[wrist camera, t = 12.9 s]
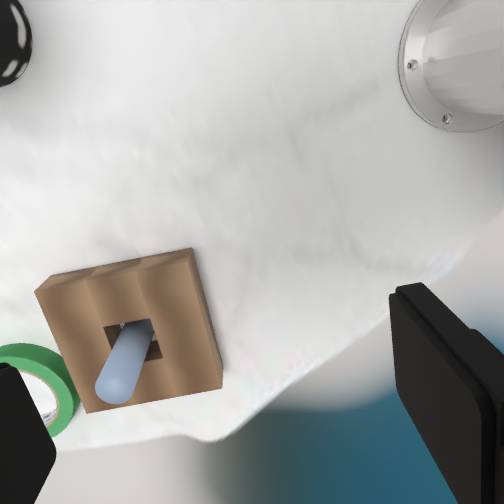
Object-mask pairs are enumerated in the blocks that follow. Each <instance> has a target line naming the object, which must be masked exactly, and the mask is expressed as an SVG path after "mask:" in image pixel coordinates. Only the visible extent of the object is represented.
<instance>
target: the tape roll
mask: <svg viewBox="0 0 504 504" xmlns="http://www.w3.org/2000/svg"><path fill="white" fill-rule="evenodd" d="M2 362H6V363H8V364H10V365H11V366H13V367H16V368H17V369H18V371H19V372H24V373H28V374H31V375H33V376H35V377H37V378H39V379H41V380H42V381H43V382H44V383H45V384H46V385H47V386H48V387H49V388H50V390H51V391H52V392H53V394H54V396H55V399H56V404H57V408H56V409H55V410H53V411H52V412H49V413H46V414H42V415H40V416H41V418H42V420H43V422H44V424H45V426H46V428H47V430H48V432H49V434H50V437H51V438H52V437H54V436H56V435H58V434H59V433H60V432H62V431H63V430H64V429H65V428H66V427H67V425H68V424H69V422H70V421H71V419H72V417H73V415H74V413H75V411H76V409H77V407H78V405H79V403H80V400H81V399H80V397H79V394H78V392H77V390H76V388H75V385H74V383H73V381H72V378H71V376H70V374H69V371H68V369H67V367H66V364H65V362H64V360H63V357H61V356H60V355H58V354H57V353H55V352H53V351H51V350H49V349H47V348H44V347H41V346H38V345H33V344H25V343H18V344H9V345H5V346H2V347H0V363H2Z"/></svg>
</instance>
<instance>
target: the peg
mask: <svg viewBox="0 0 504 504" xmlns="http://www.w3.org/2000/svg"><path fill="white" fill-rule="evenodd" d="M153 333H154V328H153V325H152V322H151V319H150V318H147V319H142V320H137V321H132V322H126V323H125V324H124V326H123V328H122V330H121V332H120V334H119V336H118V338H117V341H116V343H115V345H114V347H113V349H112V351H111V353H110V355H109V357H108V359H107V361H106V363H105V365H104V367H103V369H102V371H101V373H100V375H99V377H98V379H97V381H96V384H95V391H96V394H97V395H98V397H99V398H100V399H102V400H103V401H105V402H107V403H110V404H121V403H124V402H126V401H128V400H129V399H130V398H131V396H132V395H133V392H134V389H135V386H136V383H137V380H138V377H139V374H140V371H141V368H142V366H143V363H144V360H145V357H146V354H147V351H148V348H149V345H150V342H151V339H152V336H153Z"/></svg>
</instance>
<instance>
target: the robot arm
mask: <svg viewBox="0 0 504 504" xmlns="http://www.w3.org/2000/svg"><path fill="white" fill-rule="evenodd" d="M408 63H410V64H411V68H410V69H408V68H407V64H408ZM399 75H400V80H401V85H402V88H403V91H404V93H405V96H406V98H407V100H408V102H409V103H410V105H411V106H412V108H413V109H414V110H415V112H416V113H418V114H419V115H420V116H421V117H422V118H423V119H424V120H425V121H427V122H429V123H430V124H432V125H434V126H436V127H439V128H442V129H445V130H449V131H456V132H474V131H479V130H484V129H488V128H490V127H493V126H495V125H498V124H500V123H502V122H503V121H504V0H420V1H419V3H418V4H417V6H416V7H415V8H414V10H413V12H412V14H411V16H410V18H409V20H408V22H407V24H406V27H405V30H404V33H403V36H402V39H401V45H400V51H399ZM444 116H445V120H444V121H443V117H444ZM389 308H390V319H391V331H392V343H393V355H394V367H395V378H396V387H397V391H398V394H399V397H400V399H401V401H402V403H403V404H404V406H405V408H406V410H407V412H408V414H409V415H410V417H411V419H412V421H413V423H414V424H415V426H416V428H417V430H418V432H419V433H420V435H421V437H422V439H423V441H424V442H425V444H426V446H427V448H428V450H429V452H430V453H431V455H432V457H433V459H434V461H435V462H436V464H437V466H438V468H439V470H440V471H441V473H442V475H443V477H444V478H445V480H446V482H447V484H448V486H449V488H450V489H451V491H452V493H453V495H454V496H455V498H456V500H457V502H458V504H504V355H503V354H502V353H501V352H500V351H499V350H498V349H497V348H496V347H495V346H494V345H493V344H492V343H491V342H490V341H489V340H487V339H486V338H485V337H484V336H483V335H482V334H481V333H480V332H478V331H477V330H476V329H469V328H468V327H467V326H466V325H465V324H464V323H463V322H462V321H461V320H460V319H459V318H458V317H457V316H456V315H455V314H454V313H453V312H452V311H451V310H450V309H449V308H448V307H446V305H444V303H443V302H442V301H440V300H439V299H438V298H437V297H436V296H435V295H434V294H433V293H432V292H431V291H430V290H429V289H428V288H427V287H426V286H425V285H424V284H423V283H421V282H419V283H414V284H408V285H403V286H398V287H397V288H396V291H395V293H393V294H390V295H389ZM55 460H56V447H55V445H54V443H53V441H52V439H51V437H50V434H49V432H48V430H47V428H46V426H45V424H44V422H43V420H42V418H41V416H40V414H39V412H38V410H37V408H36V406H35V404H34V401H33V399H32V397H31V395H30V393H29V391H28V389H27V387H26V385H25V383H24V381H23V379H22V377H21V375H20V373H19V371H18V369H17V368H16V367H13V366H11V365H10V364H8V363H6V362H2V363H0V504H34V503H35V501H36V499H37V497H38V495H39V493H40V491H41V489H42V487H43V485H44V483H45V481H46V479H47V477H48V475H49V473H50V471H51V468H52V467H53V465H54V463H55Z"/></svg>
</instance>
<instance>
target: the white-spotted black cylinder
mask: <svg viewBox="0 0 504 504" xmlns="http://www.w3.org/2000/svg"><path fill="white" fill-rule="evenodd" d="M31 51H32V36H31V29H30V25H29V22H28V18H27V16H26V14H25V12H24V10H23V8H22V6H21V5H20V3H19V2H18V0H0V87H3V86H6V85H8V84H10V83H12V82H13V81H15V80H16V79H17V78H18V77H19V76H20V75H21V74H22V73H23V72H24V70H25V68H26V66H27V65H28V63H29V59H30V56H31Z"/></svg>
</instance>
